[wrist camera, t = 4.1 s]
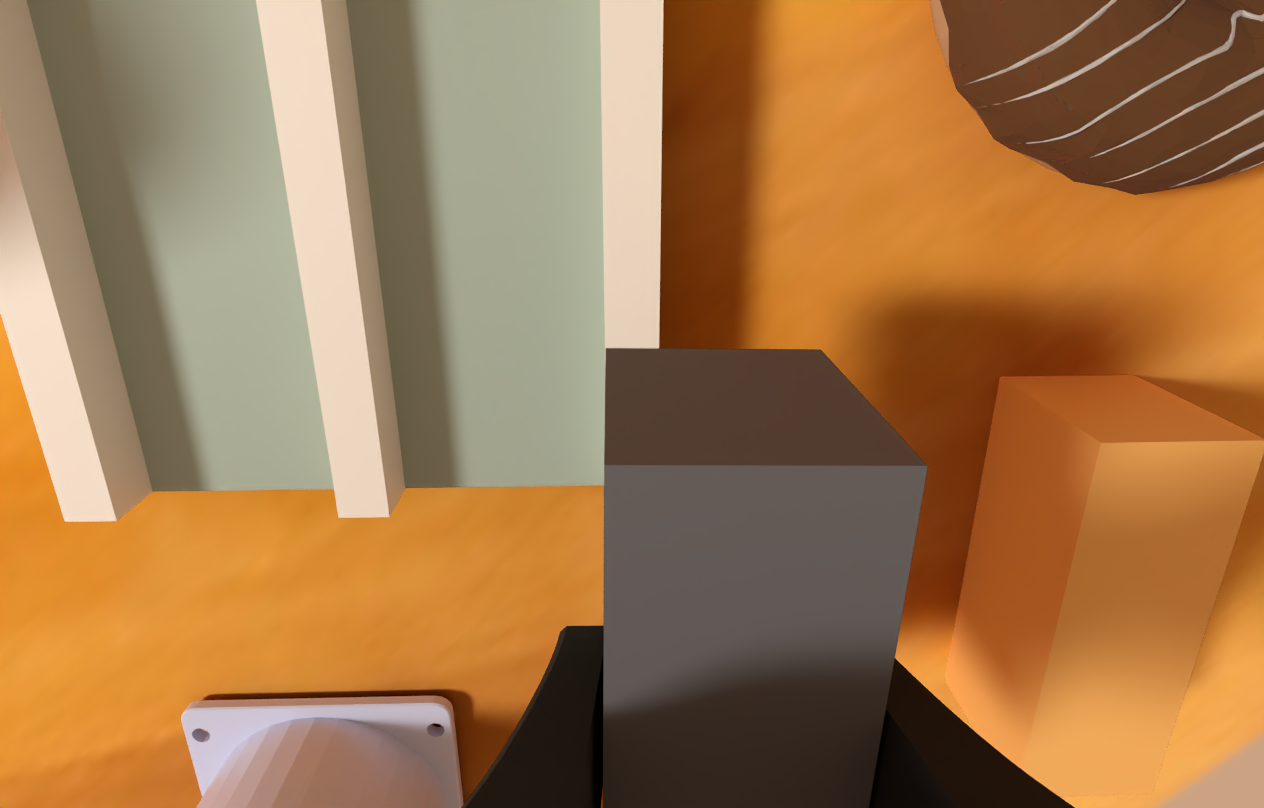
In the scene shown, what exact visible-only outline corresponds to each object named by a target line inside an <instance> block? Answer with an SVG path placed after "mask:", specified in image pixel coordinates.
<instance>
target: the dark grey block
mask: <svg viewBox="0 0 1264 808" xmlns="http://www.w3.org/2000/svg"><path fill="white" fill-rule="evenodd" d="M927 468H928V465H927V464H926V463H925V462H924V461H923V460H922V459H921V458H920V457H919V456H918V455H917V454H916V452H915V451H914V450H913V449H912V448H911V447H910V446H909V445H908V444H907V443H906V442H905V440H904V439H903V438H902V437H901V436H900V435H899V434H898V433H897V432H896V431H895V430H894V429H893V427H892V426H891V425H890V424H889V423H888V422H887V421H886V420H885V419H884V418H883V417H882V416H881V414H880V413H879V412H878V411H877V410H876V409H875V408H874V407H873V406H872V405H871V404H870V403H869V401H868V400H867V399H866V398H865V397H864V396H863V395H862V394H861V393H860V392H859V391H858V389H857V388H856V387H855V386H854V385H853V384H852V383H851V382H850V381H849V380H848V379H847V378H846V376H845V375H844V374H843V373H842V372H841V371H840V370H839V369H838V368H837V367H836V366H835V365H834V363H833V362H832V361H831V360H830V359H829V358H828V357H827V356H826V355H825V354H824V353H823V352H822V350H809V349H669V348H606V362H605V440H604V674H603V808H869V803H870V797H871V792H872V786H873V780H874V774H875V768H876V763H877V757H878V751H879V745H880V740H881V734H882V728H883V722H884V716H885V711H886V705H887V699H888V693H889V687H890V682H891V676H892V670H893V664H894V659H895V653H896V647H897V641H898V635H899V630H900V624H901V618H902V612H903V607H904V601H905V595H906V589H907V583H908V578H909V572H910V566H911V560H912V555H913V549H914V543H915V537H916V531H917V526H918V520H919V514H920V508H921V503H922V497H923V491H924V485H925V479H926V474H927Z"/></svg>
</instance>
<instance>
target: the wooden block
mask: <svg viewBox="0 0 1264 808" xmlns="http://www.w3.org/2000/svg"><path fill="white" fill-rule="evenodd" d="M1263 455H1264V438H1262V437H1260V436H1258V435H1256V434H1254V433H1252V432H1250V431H1248V430H1246V429H1244V428H1242V427H1240V426H1238V425H1236V424H1234V423H1232V422H1230V421H1227V420H1225V419H1223V418H1221V417H1219V416H1217V415H1215V414H1213V413H1211V412H1209V411H1207V410H1205V409H1203V408H1201V407H1199V406H1197V405H1195V404H1193V403H1191V402H1188V401H1186V400H1184V399H1182V398H1180V397H1178V396H1176V395H1174V394H1172V393H1170V392H1168V391H1166V390H1164V389H1162V388H1160V387H1158V386H1156V385H1154V384H1152V383H1150V382H1147V381H1145V380H1143V379H1141V378H1139V377H1137V376H1135V375H1090V376H1005V377H1000V380H999V385H998V391H997V396H996V402H995V407H994V413H993V418H992V424H991V429H990V435H989V440H988V446H987V451H986V457H985V462H984V467H983V473H982V478H981V484H980V489H979V495H978V500H977V506H976V511H975V517H974V522H973V528H972V533H971V539H970V544H969V550H968V555H967V561H966V566H965V572H964V577H963V582H962V588H961V593H960V599H959V604H958V610H957V615H956V621H955V626H954V632H953V637H952V643H951V648H950V654H949V659H948V665H947V670H946V676H945V682H946V684H947V685H948V687H949V689H950V690H951V692H952V694H953V695H954V697H955V699H956V700H957V702H958V704H959V705H960V707H961V709H962V710H963V712H964V714H965V715H966V717H967V719H968V720H969V722H970V724H971V725H972V727H973V729H974V730H975V732H976V733H977V734H978V735H980V736H981V737H982V738H983V739H984V740H986V741H987V742H988V743H989V744H991V745H992V746H993V747H994V748H995V749H997V750H998V751H999V752H1000V753H1001V754H1003V755H1004V756H1005V757H1006V758H1008V759H1009V760H1010V761H1011V762H1013V763H1014V764H1015V765H1017V766H1018V767H1019V768H1021V769H1022V770H1023V771H1024V772H1026V773H1027V774H1028V775H1030V776H1031V777H1033V778H1034V779H1035V780H1037V781H1038V782H1040V783H1041V784H1042V785H1044V786H1045V787H1046V788H1048V789H1049V790H1051V791H1052V792H1053V793H1055V794H1056V795H1058V796H1059V797H1078V796H1114V795H1151V794H1153V791H1154V787H1155V784H1156V781H1157V778H1158V775H1159V772H1160V769H1161V766H1162V763H1163V760H1164V757H1165V754H1166V751H1167V748H1168V745H1169V742H1170V739H1171V736H1172V733H1173V729H1174V726H1175V723H1176V720H1177V717H1178V714H1179V711H1180V708H1181V705H1182V702H1183V699H1184V696H1185V693H1186V690H1187V687H1188V684H1189V681H1190V678H1191V675H1192V671H1193V668H1194V665H1195V662H1196V659H1197V656H1198V653H1199V650H1200V647H1201V644H1202V641H1203V638H1204V635H1205V632H1206V629H1207V626H1208V623H1209V620H1210V617H1211V614H1212V610H1213V607H1214V604H1215V601H1216V598H1217V595H1218V592H1219V589H1220V586H1221V583H1222V580H1223V577H1224V574H1225V571H1226V568H1227V565H1228V562H1229V559H1230V556H1231V552H1232V549H1233V546H1234V543H1235V540H1236V537H1237V534H1238V531H1239V528H1240V525H1241V522H1242V519H1243V516H1244V513H1245V510H1246V507H1247V504H1248V501H1249V498H1250V494H1251V491H1252V488H1253V485H1254V482H1255V479H1256V476H1257V473H1258V470H1259V467H1260V464H1261V461H1262V458H1263Z"/></svg>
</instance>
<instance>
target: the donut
mask: <svg viewBox="0 0 1264 808" xmlns="http://www.w3.org/2000/svg"><path fill="white" fill-rule="evenodd" d="M930 5H931V11H932V17H933V23H934V29H935V33H936V36H937V39H938V42H939V44H940V47H941V50H942V53H943V56H944V59H945V62H946V65H947V67H948V69H949V71H950V73H951V74H952V77H953V80H954V83H955V86H956V89H957V91H958V92H959V93H960V94H961V95H962V96H963V97H964V98H965V99H966V100H967V102H968V103H969V104H970V105H971V107H972V108H973V109H974V111H975V112H976V113H977V115H978V116H979V117H980V119H981V120H982V121H983V122H984V124H985V126H986V127H987V129H988V130H989V132H990V134H991V135H992V137H993V138H994V139H995V140H996V141H998V142H1000V143H1001V144H1003V145H1004V146H1006V147H1008V148H1009V149H1012V150H1014V151H1017V152H1020V153H1022V154H1023V155H1024V156H1026V157H1028V158H1029V159H1031V160H1033V161H1035V162H1036V163H1038V164H1040V165H1042V166H1044V167H1045V168H1047V169H1050V170H1053V171H1056V172H1059V173H1062V174H1064V175H1065V176H1067V177H1068V178H1070V179H1071V180H1073V181H1074V182H1080V183H1086V184H1092V185H1097V186H1103V187H1109V188H1113V189H1117V190H1120V191H1124V192H1127V193H1131V194H1134V195H1136V194H1144V193H1152V192H1158V191H1163V190H1169V189H1174V188H1179V187H1185V186H1190V185H1196V184H1201V183H1206V182H1211V181H1214V180H1217V179H1220V178H1223V177H1226V176H1229V175H1232V174H1235V173H1238V172H1241V171H1244V170H1247V169H1249V168H1252V167H1254V166H1256V165H1259V164H1261V163H1264V0H930Z"/></svg>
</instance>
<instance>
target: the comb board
mask: <svg viewBox="0 0 1264 808" xmlns="http://www.w3.org/2000/svg"><path fill="white" fill-rule="evenodd" d="M663 2H664V0H0V313H1V317H2V320H3V323H4V326H5V329H6V333H7V336H8V339H9V342H10V346H11V349H12V352H13V355H14V359H15V362H16V365H17V368H18V372H19V375H20V378H21V381H22V384H23V388H24V391H25V394H26V397H27V401H28V404H29V407H30V410H31V414H32V417H33V420H34V423H35V426H36V430H37V433H38V436H39V439H40V443H41V446H42V449H43V452H44V456H45V459H46V462H47V465H48V469H49V472H50V475H51V478H52V481H53V485H54V488H55V491H56V494H57V498H58V501H59V504H60V507H61V511H62V514H63V517H64V520H65V522H83V521H117V520H119V519H120V518H121V517H122V516H123V515H125V514H126V513H127V512H128V511H130V510H131V509H132V508H133V507H134V506H136V505H137V504H138V503H139V502H141V501H142V500H143V499H144V498H145V497H147V496H148V495H149V494H150V493H152V492H153V491H224V490H297V489H334V492H335V498H336V504H337V511H338V517H339V518H356V517H390V515H391V513H392V511H393V510H394V508H395V506H396V504H397V502H398V501H399V499H400V497H401V495H402V493H403V491H404V490H405V488H443V487H516V486H590V485H604V440H605V362H606V348H659V321H660V241H661V161H662V82H663Z"/></svg>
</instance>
